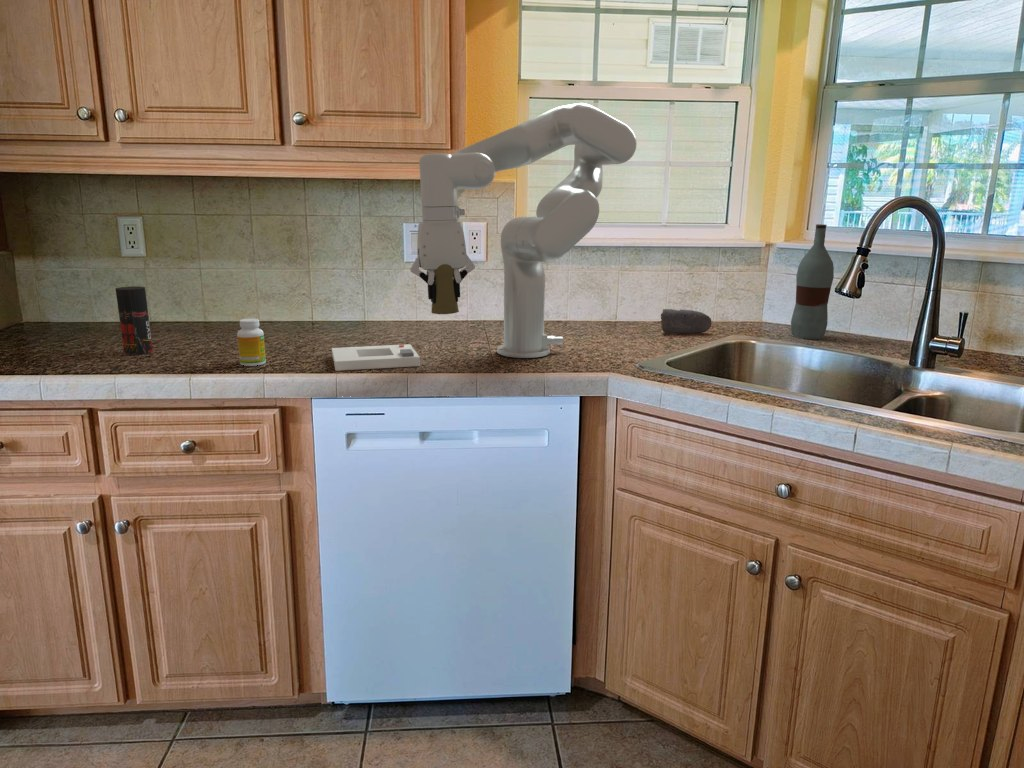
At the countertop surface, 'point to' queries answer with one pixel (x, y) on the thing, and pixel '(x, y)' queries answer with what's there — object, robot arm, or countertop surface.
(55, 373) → the countertop surface
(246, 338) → the supplement bottle
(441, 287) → the cork
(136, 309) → the deodorant
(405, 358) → the white flat base
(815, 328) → the vodka
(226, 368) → the countertop surface
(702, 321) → the perforated stone tool
